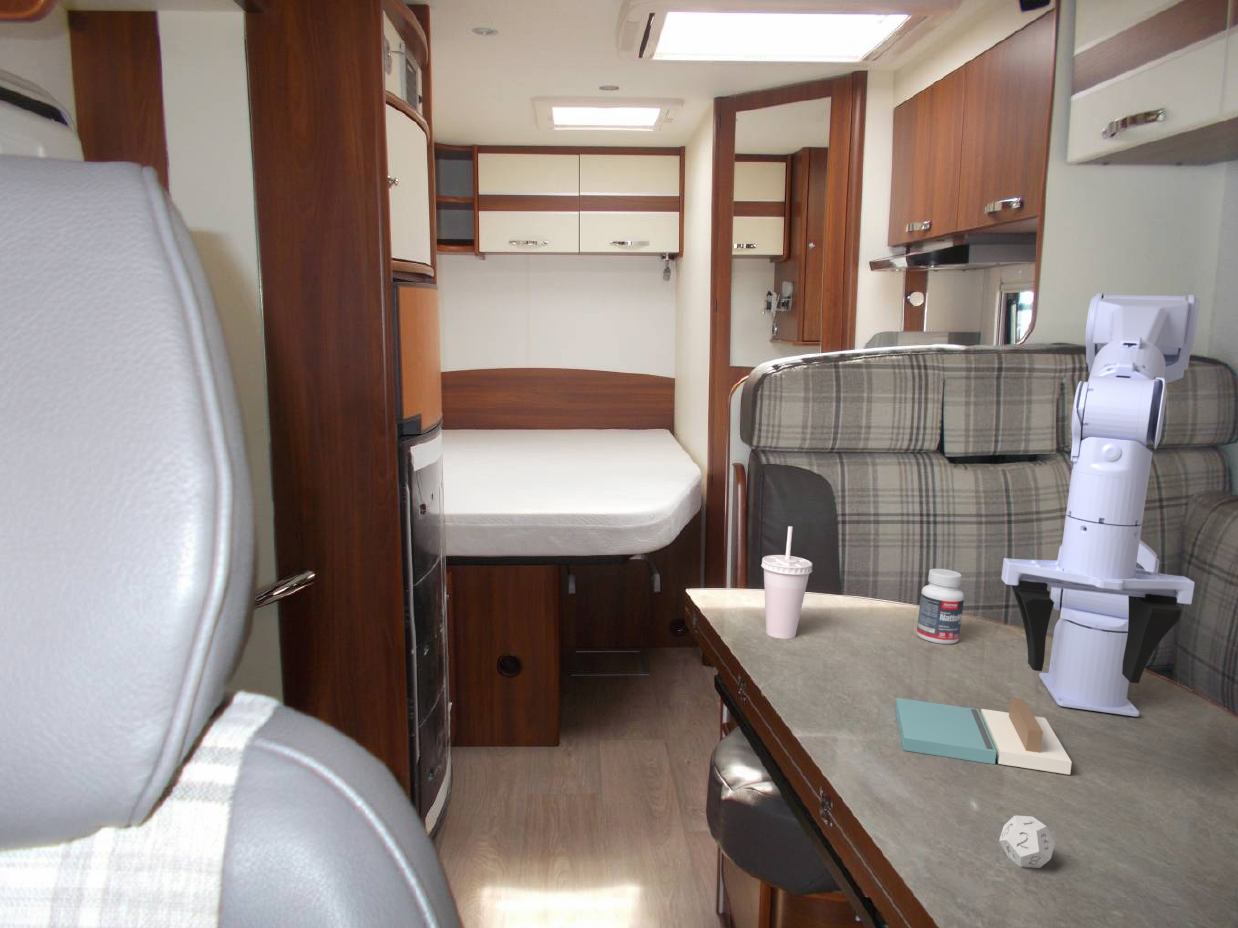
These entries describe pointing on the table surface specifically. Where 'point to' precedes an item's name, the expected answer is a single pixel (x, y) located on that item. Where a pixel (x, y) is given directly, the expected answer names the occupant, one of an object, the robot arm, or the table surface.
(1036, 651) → the robot arm
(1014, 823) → the game die
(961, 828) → the table surface
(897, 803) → the table surface
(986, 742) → the teal flat block
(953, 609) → the pill bottle
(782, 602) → the smoothie
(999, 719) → the cream block with bar
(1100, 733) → the table surface
